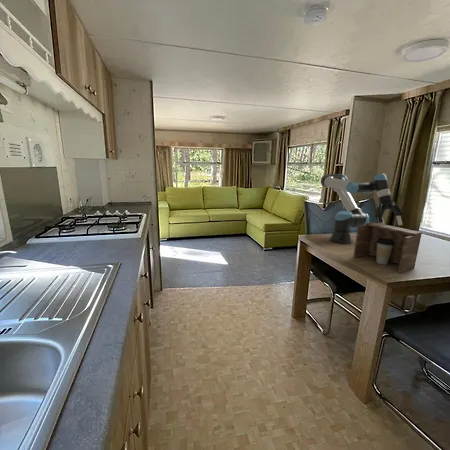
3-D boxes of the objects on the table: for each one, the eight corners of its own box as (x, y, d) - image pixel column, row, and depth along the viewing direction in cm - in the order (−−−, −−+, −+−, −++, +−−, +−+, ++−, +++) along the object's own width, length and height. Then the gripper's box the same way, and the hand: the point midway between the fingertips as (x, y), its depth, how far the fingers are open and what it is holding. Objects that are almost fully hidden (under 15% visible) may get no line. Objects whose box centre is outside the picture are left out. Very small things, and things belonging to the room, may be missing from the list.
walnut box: (353, 257, 166) (358, 224, 160) (367, 253, 174) (372, 222, 168) (400, 273, 142) (407, 235, 137) (414, 268, 150) (421, 232, 145)
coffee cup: (382, 266, 152) (386, 242, 148) (369, 260, 161) (373, 238, 157) (394, 264, 154) (398, 241, 151) (381, 259, 163) (385, 237, 160)
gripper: (372, 196, 169) (380, 227, 166) (404, 193, 174) (412, 223, 170) (365, 199, 177) (372, 229, 173) (395, 196, 181) (402, 225, 178)
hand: (392, 226), depth 172 cm, fingers open, 13 cm apart
